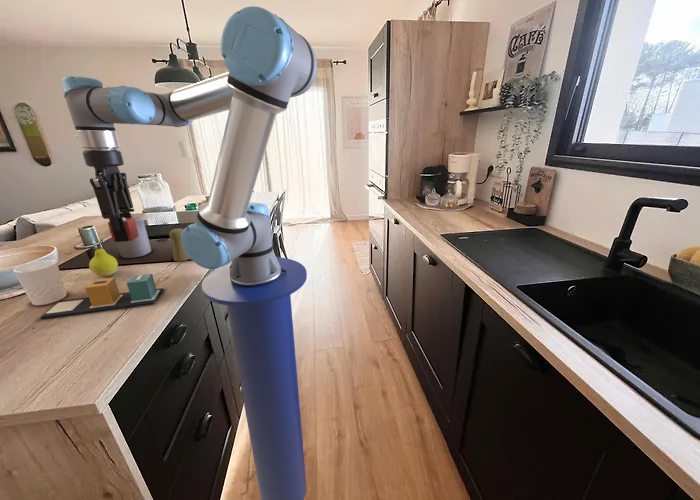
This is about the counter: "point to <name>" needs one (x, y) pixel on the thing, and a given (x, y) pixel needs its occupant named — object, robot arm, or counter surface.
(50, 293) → the white cup
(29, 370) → the counter surface
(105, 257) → the fruit
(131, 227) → the red block
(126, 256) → the pillar candle
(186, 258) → the cork
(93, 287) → the slotted yellow cube
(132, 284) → the teal slotted block
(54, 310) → the word mat
